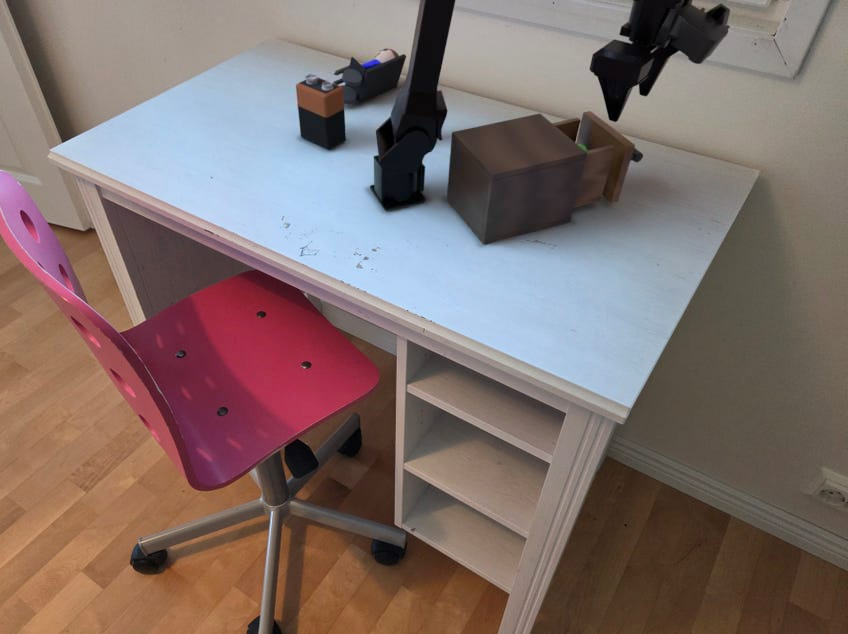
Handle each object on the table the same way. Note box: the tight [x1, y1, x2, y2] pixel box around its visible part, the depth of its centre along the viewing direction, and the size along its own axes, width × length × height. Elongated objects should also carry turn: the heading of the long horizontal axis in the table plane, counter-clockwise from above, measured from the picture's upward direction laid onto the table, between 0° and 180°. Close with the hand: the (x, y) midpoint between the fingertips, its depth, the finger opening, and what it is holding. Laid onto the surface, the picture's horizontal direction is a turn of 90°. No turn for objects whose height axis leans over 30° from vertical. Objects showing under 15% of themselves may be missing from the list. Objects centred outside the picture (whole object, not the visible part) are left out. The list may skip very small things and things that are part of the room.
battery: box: [295, 73, 347, 150], centre depth 104 cm, size 4×7×10 cm, turn 48°
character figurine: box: [332, 48, 407, 105], centre depth 116 cm, size 8×7×15 cm
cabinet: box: [446, 113, 587, 245], centre depth 89 cm, size 14×12×11 cm
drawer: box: [551, 110, 644, 209], centre depth 92 cm, size 17×10×9 cm, turn 111°
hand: (628, 107), depth 88 cm, fingers open, 9 cm apart
